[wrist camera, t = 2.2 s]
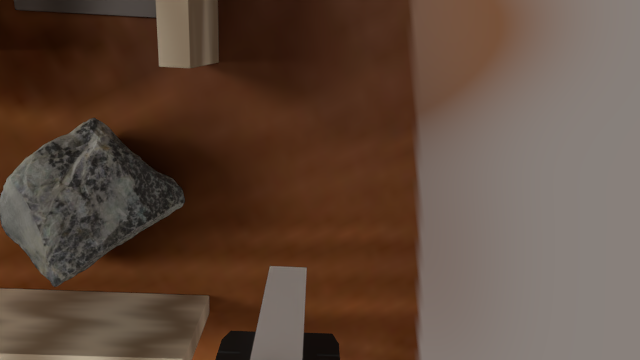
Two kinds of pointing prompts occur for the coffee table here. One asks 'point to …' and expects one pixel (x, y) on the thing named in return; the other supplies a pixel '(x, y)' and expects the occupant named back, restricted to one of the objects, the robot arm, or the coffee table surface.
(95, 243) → the stone
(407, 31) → the coffee table surface
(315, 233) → the coffee table surface
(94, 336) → the wooden wall enclosure
